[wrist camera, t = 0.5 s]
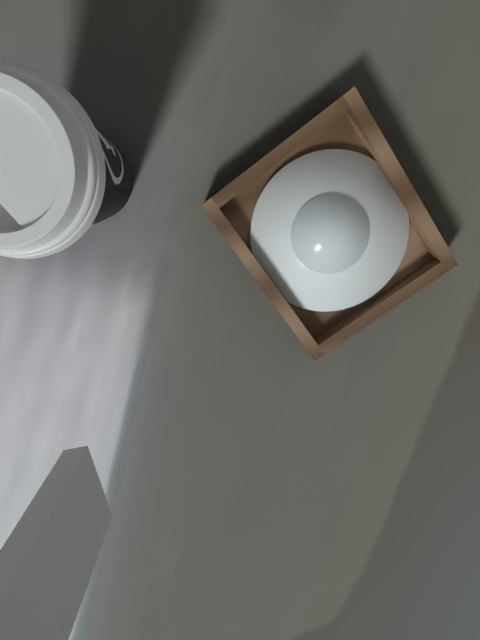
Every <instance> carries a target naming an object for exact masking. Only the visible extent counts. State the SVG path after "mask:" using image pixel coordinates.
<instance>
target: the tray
mask: <svg viewBox="0 0 480 640" xmlns="http://www.w3.org/2000/svg"><path fill="white" fill-rule="evenodd" d="M325 149H343V150H350V151H354V152H358V153H361V154H363V155H366V156H368V157H370V158H371V159H373V160H375V161H377V162H378V164H379V166H380V167H381V169H382V171H383V172H384V174H385V176H386V177H387V179H388V181H389V183H390V184H391V186H392V188H393V189H394V191H395V193H396V194H397V196H398V198H399V199H400V201H401V203H402V204H403V206H404V208H405V209H406V211H407V213H408V215H409V225H410V226H409V238H408V243H407V247H406V250H405V253H404V256H403V259H402V261H401V263H400V265H399V267H398V269H397V270H396V272H395V273H394V275H393V276H392V278H391V279H390V280H389V281H388V283H387V284H386V285H385V286H384V287H383V288H382V289H381V290H380V291H378V292H377V293H376V294H374V295H373V296H372V297H370V298H369V299H367V300H365V301H364V302H362V303H360V304H358V305H355V306H353V307H350V308H346V309H343V310H337V311H327V312H322V311H312V310H308V309H303V308H301V307H298V306H295V305H293V304H291V303H289V302H287V301H286V300H285V298H284V297H283V295H282V294H281V293H280V291H279V290H278V288H277V287H276V286H275V284H274V283H273V282H272V280H271V279H270V277H269V276H268V275H267V273H266V272H265V270H264V269H263V268H262V266H261V265H260V264H259V262H258V261H257V259H256V258H255V257H254V255H253V254H252V249H251V243H250V228H251V220H252V215H253V211H254V208H255V206H256V203H257V200H258V198H259V196H260V194H261V193H262V191H263V189H264V188H265V186H266V185H267V183H268V182H269V181H270V180H271V179H272V178H273V176H274V175H275V174H276V173H277V172H279V171H280V170H281V169H282V168H283V167H284V166H286V165H287V164H289V163H290V162H292V161H293V160H295V159H297V158H299V157H301V156H303V155H306V154H309V153H312V152H315V151H320V150H325ZM201 206H202V208H203V209H204V210H205V212H206V213H207V214H208V216H209V217H210V219H211V220H212V221H213V223H214V224H215V225H216V227H217V228H218V229H219V231H220V232H221V234H222V235H223V236H224V238H225V239H226V240H227V242H228V243H229V244H230V246H231V247H232V249H233V250H234V251H235V253H236V254H237V255H238V257H239V258H240V259H241V261H242V262H243V263H244V265H245V266H246V268H247V269H248V270H249V272H250V273H251V274H252V276H253V277H254V278H255V280H256V281H257V283H258V284H259V285H260V287H261V288H262V289H263V291H264V292H265V293H266V295H267V296H268V298H269V299H270V300H271V302H272V303H273V304H274V306H275V307H276V308H277V310H278V311H279V313H280V314H281V315H282V317H283V318H284V319H285V321H286V322H287V323H288V325H289V326H290V328H291V329H292V330H293V332H294V333H295V334H296V336H297V337H298V338H299V340H300V341H301V343H302V344H303V345H304V347H305V348H306V349H307V351H308V352H309V353H310V355H311V356H312V358H313V359H314V360H316V359H318V358H319V357H321V356H322V355H324V354H325V353H327V352H328V351H330V350H331V349H333V348H334V347H335V346H337V345H338V344H340V343H341V342H343V341H344V340H346V339H347V338H349V337H350V336H352V335H353V334H355V333H356V332H358V331H359V330H361V329H362V328H364V327H365V326H367V325H368V324H370V323H371V322H373V321H374V320H376V319H377V318H379V317H380V316H382V315H383V314H385V313H386V312H388V311H389V310H391V309H392V308H394V307H395V306H397V305H398V304H400V303H401V302H403V301H404V300H406V299H407V298H409V297H410V296H412V295H413V294H415V293H416V292H418V291H419V290H421V289H422V288H424V287H425V286H427V285H428V284H430V283H431V282H432V281H434V280H435V279H437V278H438V277H440V276H441V275H443V274H444V273H446V272H447V271H449V270H450V269H452V268H453V267H455V266H456V265H458V263H457V262H456V260H455V258H454V256H453V255H452V253H451V251H450V250H449V248H448V246H447V244H446V243H445V241H444V239H443V237H442V236H441V234H440V232H439V231H438V229H437V227H436V225H435V224H434V222H433V220H432V219H431V217H430V215H429V213H428V212H427V210H426V208H425V206H424V205H423V203H422V201H421V200H420V198H419V196H418V194H417V193H416V191H415V189H414V187H413V186H412V184H411V182H410V181H409V179H408V177H407V175H406V174H405V172H404V170H403V168H402V167H401V165H400V163H399V162H398V160H397V158H396V156H395V155H394V153H393V151H392V149H391V148H390V146H389V144H388V143H387V141H386V139H385V137H384V136H383V134H382V132H381V130H380V129H379V127H378V125H377V124H376V122H375V120H374V118H373V117H372V115H371V113H370V112H369V110H368V108H367V106H366V105H365V103H364V101H363V99H362V98H361V96H360V94H359V93H358V91H357V89H356V87H355V86H354V87H353V88H352V89H351V90H349V91H348V92H347V93H345V94H344V95H343V96H341V97H340V98H339V99H338V100H336V101H335V102H334V103H332V104H331V105H330V106H329V107H327V108H326V109H325V110H323V111H322V112H321V113H320V114H318V115H317V116H316V117H314V118H313V119H312V120H311V121H309V122H308V123H307V124H305V125H304V126H303V127H302V128H300V129H299V130H298V131H296V132H295V133H294V134H292V135H291V136H290V137H289V138H287V139H286V140H285V141H283V142H282V143H281V144H280V145H278V146H277V147H276V148H274V149H273V150H272V151H271V152H269V153H268V154H267V155H265V156H264V157H263V158H262V159H260V160H259V161H258V162H256V163H255V164H254V165H253V166H251V167H250V168H249V169H247V170H246V171H245V172H243V173H242V174H241V175H240V176H238V177H237V178H236V179H234V180H233V181H232V182H231V183H229V184H228V185H227V186H225V187H224V188H223V189H222V190H220V191H219V192H218V193H216V194H215V195H214V196H213V197H211V198H210V199H209V200H207V201H206V202H205V203H204V204H202V205H201Z"/></svg>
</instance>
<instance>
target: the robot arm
mask: <svg viewBox="0 0 480 640" xmlns="http://www.w3.org/2000/svg"><path fill="white" fill-rule="evenodd" d="M111 518H112V513H111V510H110V508H109V505H108V502H107V499H106V496H105V494H104V491H103V488H102V485H101V482H100V480H99V477H98V474H97V471H96V468H95V466H94V463H93V460H92V457H91V455H90V452H89V449H88V446H84V447H79V448H74V449H69V450H64V451H63V453H62V454H61V456H60V457H59V459H58V461H57V462H56V464H55V465H54V467H53V468H52V470H51V472H50V473H49V475H48V476H47V478H46V479H45V481H44V483H43V484H42V486H41V487H40V489H39V490H38V492H37V494H36V495H35V497H34V498H33V500H32V501H31V503H30V505H29V506H28V508H27V509H26V511H25V513H24V514H23V516H22V517H21V519H20V520H19V522H18V524H17V525H16V527H15V528H14V530H13V531H12V533H11V535H10V536H9V538H8V539H7V541H6V542H5V544H4V546H3V547H2V549H1V550H0V640H68V639H69V636H70V633H71V631H72V628H73V625H74V622H75V619H76V617H77V614H78V611H79V608H80V605H81V602H82V600H83V597H84V594H85V591H86V588H87V586H88V583H89V580H90V577H91V574H92V572H93V569H94V566H95V563H96V560H97V557H98V555H99V552H100V549H101V546H102V543H103V541H104V538H105V535H106V532H107V529H108V526H109V524H110V521H111Z"/></svg>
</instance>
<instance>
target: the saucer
mask: <svg viewBox="0 0 480 640" xmlns="http://www.w3.org/2000/svg"><path fill="white" fill-rule="evenodd" d="M409 226H410V225H409V215H408V213H407V211H406V209H405V208H404V206H403V204H402V203H401V201H400V199H399V198H398V196H397V194H396V193H395V191H394V189H393V188H392V186H391V184H390V183H389V181H388V179H387V177H386V176H385V174H384V172H383V171H382V169H381V167H380V166H379V164H378V162H377V161H375V160H373V159H371V158H370V157H368V156H366V155H363V154H361V153H358V152H354V151H350V150H343V149H325V150H320V151H315V152H312V153H309V154H306V155H303V156H301V157H299V158H297V159H295V160H293V161H292V162H290V163H289V164H287V165H286V166H284V167H283V168H282V169H281V170H280V171H279V172H277V173H276V174H275V175H274V176H273V178H272V179H271V180H270V181H269V182H268V183H267V185H266V186H265V188H264V189H263V191H262V193H261V194H260V196H259V198H258V200H257V203H256V206H255V208H254V211H253V215H252V220H251V228H250V243H251V249H252V254H253V255H254V257H255V258H256V259H257V261H258V262H259V264H260V265H261V266H262V268H263V269H264V270H265V272H266V273H267V275H268V276H269V277H270V279H271V280H272V282H273V283H274V284H275V286H276V287H277V288H278V290H279V291H280V293H281V294H282V295H283V297H284V298H285V300H286V301H287V302H289V303H291V304H293V305H295V306H298V307H301V308H303V309H308V310H312V311H322V312H327V311H337V310H343V309H346V308H350V307H353V306H355V305H358V304H360V303H362V302H364V301H365V300H367V299H369V298H370V297H372V296H373V295H374V294H376V293H377V292H378V291H380V290H381V289H382V288H383V287H384V286H385V285H386V284H387V283H388V281H389V280H390V279H391V278H392V276H393V275H394V273H395V272H396V270H397V269H398V267H399V265H400V263H401V261H402V259H403V256H404V253H405V250H406V247H407V243H408V238H409Z"/></svg>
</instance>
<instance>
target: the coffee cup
mask: <svg viewBox="0 0 480 640" xmlns="http://www.w3.org/2000/svg"><path fill="white" fill-rule="evenodd" d="M131 190H132V173H131V169H130V166H129V163H128V161H127V159H126V157H125V156H124V154H123V153H122V152H121V151H120V150H119V149H118V148H117V147H116V146H115V145H114V144H113V143H112V142H111V141H110V140H108V139H107V138H106V137H105V136H104V135H103V134H102V133H100V132H99V131H98V130H97V129H96V128H95V127H94V125H93V123H92V121H91V120H90V118H89V116H88V115H87V113H86V112H85V110H84V109H83V107H82V106H81V105H80V103H79V102H78V101H77V100H76V99H75V98H74V97H73V96H72V94H71V93H70V92H68V91H67V90H66V89H65V88H64V87H63V86H62V85H60V84H59V83H58V82H56V81H55V80H54V79H52V78H51V77H49V76H47V75H46V74H44V73H42V72H40V71H38V70H36V69H33V68H31V67H28V66H25V65H21V64H18V63H13V62H6V61H0V255H1V256H5V257H10V258H19V259H32V258H40V257H45V256H49V255H52V254H55V253H57V252H60V251H62V250H64V249H66V248H67V247H69V246H70V245H72V244H73V243H75V242H76V241H77V240H78V239H79V238H80V237H81V236H82V235H83V234H84V233H85V232H86V231H87V230H88V228H89V227H90V226H92V225H94V224H96V223H98V222H100V221H102V220H104V219H106V218H108V217H110V216H112V215H114V214H116V213H117V212H119V211H120V210H121V209H122V208H123V207H124V206H125V204H126V203H127V201H128V199H129V197H130V194H131Z"/></svg>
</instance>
